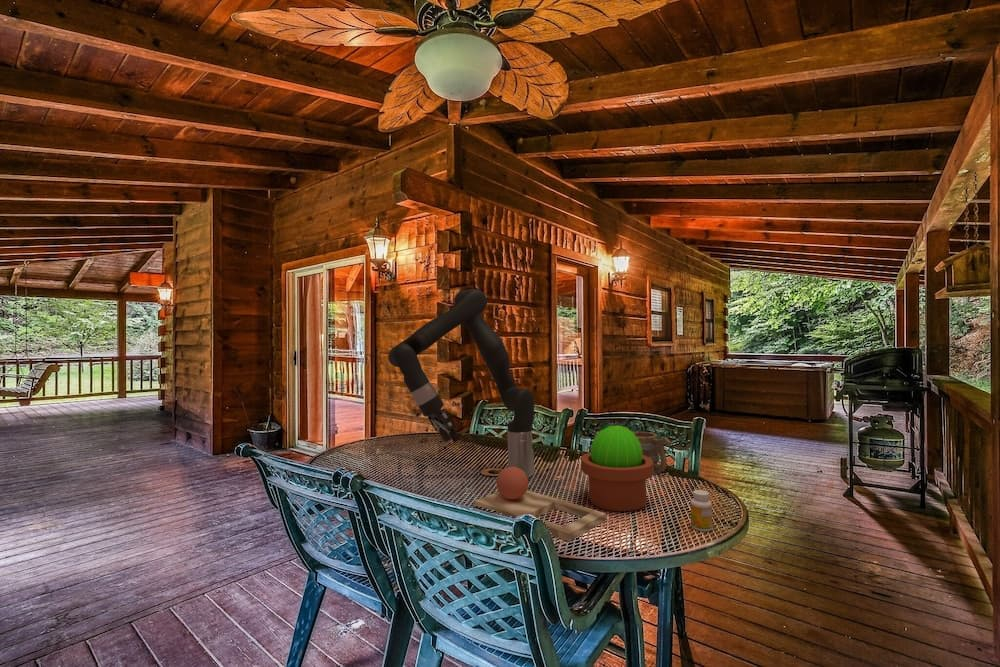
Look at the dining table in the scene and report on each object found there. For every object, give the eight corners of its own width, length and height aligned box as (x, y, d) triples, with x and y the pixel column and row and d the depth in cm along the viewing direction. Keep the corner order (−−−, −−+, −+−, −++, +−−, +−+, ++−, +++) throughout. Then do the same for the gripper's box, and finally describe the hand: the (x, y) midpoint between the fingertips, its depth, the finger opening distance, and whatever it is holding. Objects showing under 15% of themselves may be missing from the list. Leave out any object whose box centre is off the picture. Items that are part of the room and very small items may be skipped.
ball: (511, 491, 153) (511, 460, 153) (535, 498, 146) (534, 466, 146) (490, 499, 146) (489, 467, 146) (513, 507, 139) (513, 473, 139)
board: (513, 491, 158) (513, 486, 158) (606, 520, 133) (605, 513, 133) (474, 506, 145) (474, 500, 145) (569, 541, 120) (569, 533, 120)
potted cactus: (667, 512, 138) (665, 428, 138) (597, 518, 135) (595, 432, 134) (634, 488, 160) (632, 415, 160) (573, 492, 156) (571, 418, 156)
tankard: (620, 468, 183) (619, 430, 183) (645, 464, 188) (644, 427, 188) (655, 482, 165) (654, 440, 165) (682, 477, 170) (681, 437, 170)
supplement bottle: (687, 524, 129) (686, 489, 129) (705, 523, 130) (705, 488, 130) (697, 532, 124) (696, 496, 124) (716, 531, 124) (715, 495, 124)
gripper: (443, 390, 146) (469, 434, 147) (429, 394, 159) (453, 434, 160) (424, 403, 143) (451, 448, 144) (411, 406, 155) (436, 447, 156)
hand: (452, 440), depth 152 cm, fingers open, 8 cm apart
